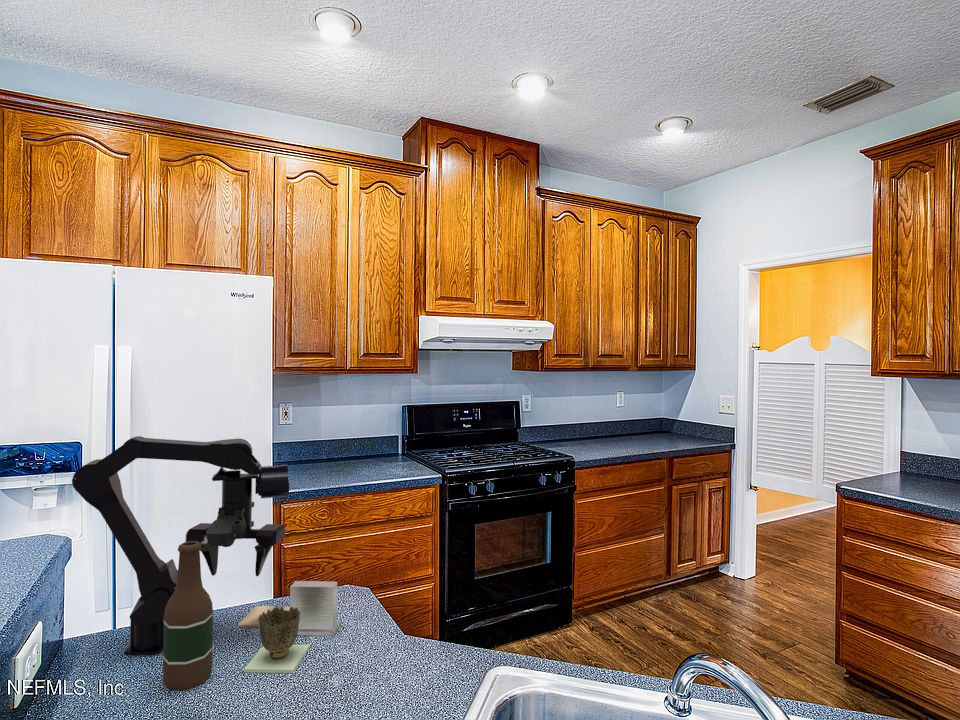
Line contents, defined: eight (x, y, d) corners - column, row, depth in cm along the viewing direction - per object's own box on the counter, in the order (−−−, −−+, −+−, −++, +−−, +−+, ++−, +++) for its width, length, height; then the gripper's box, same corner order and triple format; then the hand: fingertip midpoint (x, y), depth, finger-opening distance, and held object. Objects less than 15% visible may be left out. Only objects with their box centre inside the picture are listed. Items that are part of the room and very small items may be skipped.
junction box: (286, 635, 114) (286, 587, 114) (294, 623, 119) (295, 578, 119) (334, 635, 113) (334, 588, 113) (340, 624, 118) (341, 578, 118)
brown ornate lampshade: (306, 647, 107) (306, 606, 107) (289, 668, 100) (289, 624, 100) (269, 645, 108) (270, 604, 108) (250, 665, 101) (251, 621, 101)
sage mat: (244, 672, 100) (244, 669, 100) (264, 647, 109) (264, 644, 109) (293, 673, 99) (293, 669, 99) (309, 647, 108) (309, 644, 108)
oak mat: (237, 627, 117) (237, 624, 117) (255, 608, 126) (256, 606, 126) (279, 628, 117) (279, 625, 117) (294, 609, 126) (295, 606, 126)
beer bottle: (165, 672, 99) (167, 539, 100) (213, 663, 102) (215, 534, 103) (159, 696, 92) (161, 552, 93) (210, 685, 95) (212, 547, 96)
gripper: (170, 509, 107) (168, 590, 106) (265, 510, 106) (264, 591, 106) (200, 496, 118) (199, 569, 118) (286, 497, 117) (285, 570, 117)
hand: (235, 575), depth 114 cm, fingers open, 9 cm apart
